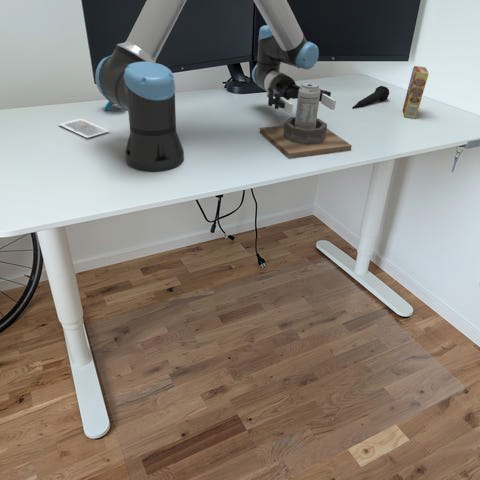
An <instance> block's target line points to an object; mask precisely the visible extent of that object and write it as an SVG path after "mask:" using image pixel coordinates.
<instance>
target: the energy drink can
mask: <svg viewBox="0 0 480 480" xmlns="http://www.w3.org/2000/svg"><path fill="white" fill-rule="evenodd" d="M319 98H320V84H319V83H317V82H312V81H305V82H302V83H301V86H300V89H299V92H298V99H297V104H296V111H295V112H296V113H295V117H296V119H295V127H298V128H304V129H314V128H315V127H316V120H317V118H318V113H319V112H318V111H319V105H320V101H319Z"/></svg>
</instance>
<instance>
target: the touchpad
mask: <svg viewBox="0 0 480 480" xmlns="http://www.w3.org/2000/svg"><path fill="white" fill-rule="evenodd" d="M58 126H61V127H63V128H65V129H67V130H69V131H71V132H74V133H76V134H78V135H80V136H82V137H84V138H86V139H87V138H91V137H92V138H93V137H96V136H98V135H99V136H100V135H101V134H105V133H108V132H109V133H110V130H109V129H107V128H104V127H102V126H100V125H98V124H96V123H92V122H90V121H88V120H86V119H83V118H80V117H79V118H76V119H73V120H72V119H71V120H69V121H66V122H65V121H64V122H61V123H58Z"/></svg>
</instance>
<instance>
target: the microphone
mask: <svg viewBox="0 0 480 480" xmlns="http://www.w3.org/2000/svg"><path fill="white" fill-rule="evenodd" d="M389 95H390V89H389V88H388V87H387V86H384V85H380V86H377V87H376V88H375V90H374V92H373V93H370V94H369V95H367V96H366V97H363V99H361V100H358V102H356V104H355V105H354V106H352V109H357V108H362V107H365V106H368V105H370V104H373V103H375V102H377V101H380V102H384V101H386V100H388V99H389Z"/></svg>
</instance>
